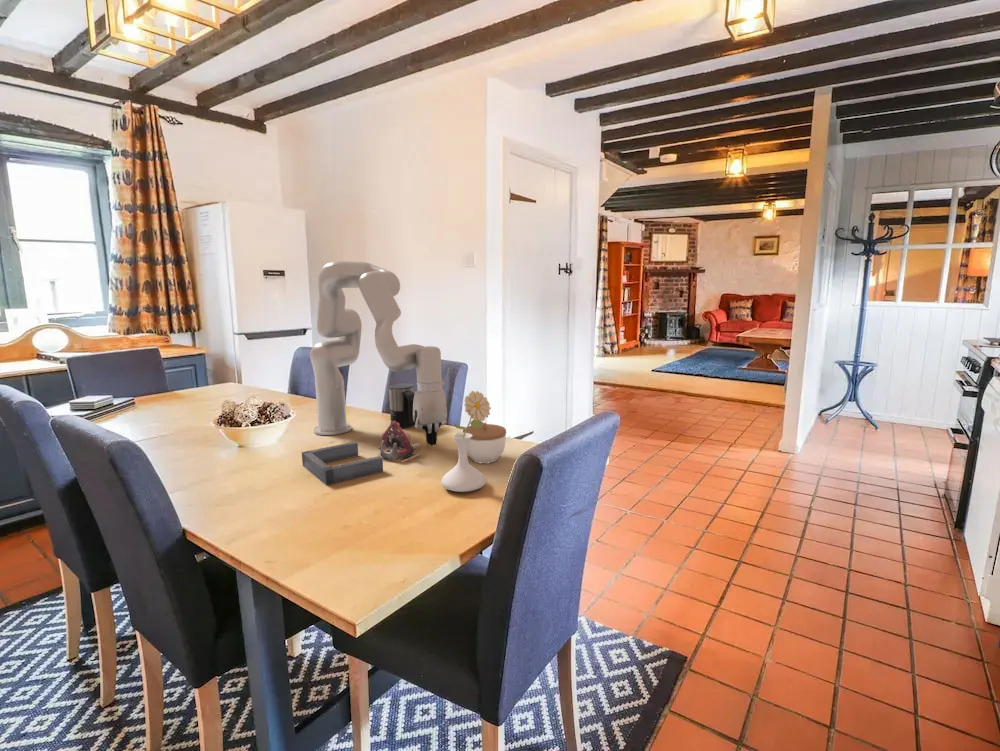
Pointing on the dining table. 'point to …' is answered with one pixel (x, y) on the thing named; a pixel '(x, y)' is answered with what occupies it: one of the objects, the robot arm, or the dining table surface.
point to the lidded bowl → (486, 442)
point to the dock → (343, 472)
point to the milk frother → (402, 404)
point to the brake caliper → (397, 444)
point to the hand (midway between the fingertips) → (431, 443)
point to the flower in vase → (463, 472)
